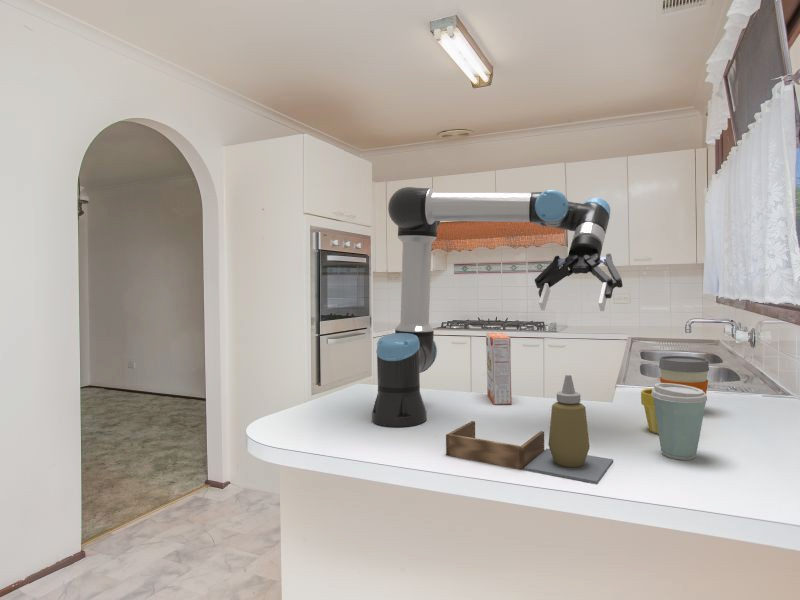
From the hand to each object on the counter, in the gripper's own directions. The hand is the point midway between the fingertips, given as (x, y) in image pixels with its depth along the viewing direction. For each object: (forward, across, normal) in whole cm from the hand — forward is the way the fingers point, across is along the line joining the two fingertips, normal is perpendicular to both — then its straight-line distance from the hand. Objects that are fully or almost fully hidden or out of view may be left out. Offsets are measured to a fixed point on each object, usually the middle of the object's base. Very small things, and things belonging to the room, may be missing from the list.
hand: (570, 307), depth 120 cm
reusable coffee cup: (-9, -19, -54) cm, 58 cm away
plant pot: (+8, -17, -37) cm, 41 cm away
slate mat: (+34, -4, -11) cm, 36 cm away
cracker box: (0, +32, -45) cm, 56 cm away
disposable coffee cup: (+21, -22, -24) cm, 39 cm away
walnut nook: (+34, +12, -11) cm, 37 cm away
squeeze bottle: (+33, -4, -11) cm, 35 cm away
